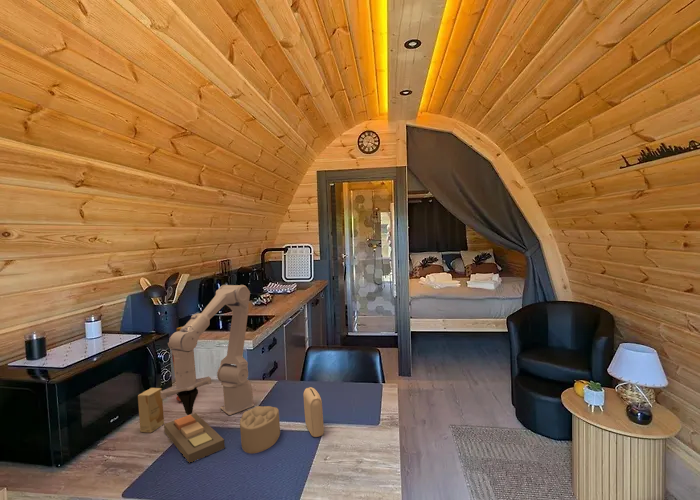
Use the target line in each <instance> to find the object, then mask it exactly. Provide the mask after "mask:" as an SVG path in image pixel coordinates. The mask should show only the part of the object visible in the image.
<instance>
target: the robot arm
mask: <svg viewBox="0 0 700 500" xmlns="http://www.w3.org/2000/svg"><path fill="white" fill-rule="evenodd" d="M250 296H251V291H250V290H249V288H248V287H247V286H246V285H244V284H240V285H238V284H235V285H234V284H222V285H221V286H220V287H219V288H218V289H217V290H216V291H215V295H214V297H213V298H212V299H211V300H210V301H209V303H208V304H207V305H206V306H205V308H204V309H203V310H202V311H201V312H200V313H199V312H198V313H195V314H192V315H191V317H190V319H189V320H188V321H187V322H186V324H184V325H183V326H181V327H182V328H181V330H180V331H177V330H176V331H175V332H174V333H172V334H171V335H170V337H169V340H168V342H167V346H168V348H169V349H170V350H171V356H172V355H173V356H174V366H175V372H174V378H175V377H176V379H175V384H174V385H173V386H172V385H171V386H170V387H167V388H166V389H163V390H162V391H160V395H161V398H162V400H165V399H167V398H169V397H172V396H175V395H177V396H178V397H179V399H180V400H181V402H180V403H181V404H182V406H183V408H184V409H183V410H184V412H185V414H186V416H188V415H191V414H193V409H194V406H195V401H196V398H197V396H198V394H199V390H198V389H197V388H199V387H202V386H206V385H212V377H210V376H204V377H201V378H200V377H199V378H197V374H196V373H197V372H196V363H195V350H194V349H195V348H196V347H197V345H198V341H199V339H200V336H201V335H202V334H203V333H204V332H205V331H206V330H207V329H208V327H209V326H210V325H211V324H210V320H211V319H212V318H213V317H214V316H215V315H216V314H217V313H218V312H219V311H220V310H221V309H222V308H223V307H225V306H227V307H228V308H229V309H230V310H231V311H232V315H231V316H232V317H231V321H230V322H231V323H230V330H229V337H228V345H227V351H226V352H227V353H226V356H225V357H224V358H223V359H221V360H220V365H219V368H217V369H218V370H217V372H216V378H217V380H218V381H219V382H220V383H221V386H222V390H223V402H224V403H223V404H224V405H223V406H220V409H221V410H222V411H223V412H224V413H226V414H227V415H229V416H231V415H234V414H237V413H240V412H242V411H244V410H249V409H250V408H252V407H253V408H254V407H255V404H254V396H253V387H252V386H253V385H252V382H251V381H250V380H249V370H248V366H249V362H248V361H247V360H246V359H245V357H244V347H245V338H246V332H247V325H248V324H247V323H248V317H249V309H250V307H249V304H250V299H251V298H250ZM174 366H173V367H174ZM177 396H176V397H177Z"/></svg>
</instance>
